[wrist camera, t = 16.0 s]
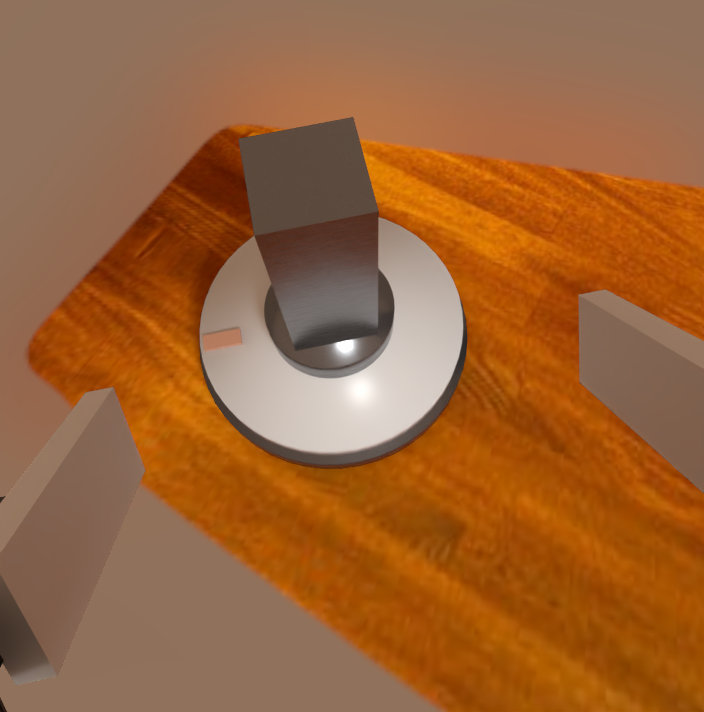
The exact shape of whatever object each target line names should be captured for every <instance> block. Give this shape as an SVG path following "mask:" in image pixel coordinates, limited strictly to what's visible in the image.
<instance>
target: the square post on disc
mask: <svg viewBox="0 0 704 712" xmlns="http://www.w3.org/2000/svg"><path fill="white" fill-rule="evenodd" d="M239 145H240V151H241V157H242V164H243V170H244V176H245V182H246V188H247V194H248V200H249V206H250V213H251V219H252V225H253V231H254V236H255V239H256V242H257V245H258V248H259V250H260V253H261V256H262V259H263V262H264V264H265V267H266V270H267V273H268V276H269V278H270V281H271V285H270V287H269V289H268V292H267V295H266V299H265V304H264V317H265V322H266V327H267V329H268V332H269V334H270V336H271V339H272V341H273V343H274V345H275V347H276V349H277V351H278V353H279V354H280V355H281V356H282V358H283V359H284V360H285V361H286V362H287V363H288V364H289V365H291V366H292V367H293V368H295V369H296V370H298V371H300V372H302V373H305V374H307V375H310V376H314V377H318V378H341V377H346V376H350V375H353V374H355V373H358V372H360V371H362V370H363V369H365V368H367V367H368V366H370V365H371V364H372V363H374V362H375V361H376V360H377V359H378V358H379V357H380V355H381V354H382V353H383V352H384V350H385V348H386V347H387V345H388V343H389V341H390V338H391V335H392V331H393V324H394V310H395V306H394V296H393V292H392V289H391V286H390V284H389V282H388V280H387V278H386V277H385V276H384V274H383V273H382V272H381V271H380V270H379V268H378V218H379V211H378V208H377V204H376V200H375V196H374V193H373V189H372V185H371V182H370V178H369V174H368V170H367V167H366V163H365V159H364V155H363V152H362V148H361V144H360V141H359V137H358V133H357V130H356V126H355V122H354V118H353V117H351V118H346V119H341V120H335V121H330V122H325V123H320V124H314V125H309V126H304V127H298V128H293V129H288V130H282V131H277V132H272V133H267V134H261V135H256V136H251V137H245V138H240V139H239Z"/></svg>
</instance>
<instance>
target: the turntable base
mask: <svg viewBox="0 0 704 712" xmlns="http://www.w3.org/2000/svg"><path fill="white" fill-rule="evenodd" d="M459 299H460V298H459ZM460 303H461V300H460ZM461 307H462V316H463V337H462V345H461V350H460V354H459V358H458V361H457V364H456V366H455V369H454V372H453V375H452V377H451V380H450V382H449V384H448V386H447V388H446V390H445V391H444V393H443V395H442V397H441V398H440V399H439V401H438V402H437V403H436V405H435V406H434V407H433V409H432V410H431V411H430V412H429V413H428V414H427V415H426V416H425V417H424V418H423V419H422V420H421V421H420V422H419V423H417V424H416V425H415V426H414V427H412V428H411V429H410V430H408V431H407V432H406V433H404V434H402V435H401V436H399V437H397V438H395V439H394V440H392V441H390V442H388V443H385V444H383V445H381V446H378V447H376V448H373V449H369V450H365V451H362V452H358V453H352V454H345V455H314V454H305V453H300V452H297V451H293V450H289V449H286V448H283V447H281V446H278V445H276V444H273V443H271V442H269V441H267V440H266V439H264V438H262V437H260V436H259V435H257V434H255V433H254V432H253V431H251V430H250V429H249V428H248V427H246V426H245V425H244V424H243V423H242V422H241V421H240V420H239V419H238V418H237V417H236V416H235V415H234V414H233V413H232V412H231V411H230V410H229V409H228V407H227V406H226V405H225V404H224V403H223V401H222V400H221V398H220V397H219V395H218V394H217V393H216V391H215V389H214V387H213V385H212V383H211V381H210V379H209V378H208V375H207V372H206V369H205V366H204V363H203V359H202V354H201V348H200V358H201V364H202V370H203V374H204V377H205V380H206V383H207V386H208V389H209V391H210V393H211V395H212V397H213V399H214V401H215V403H216V404H217V406H218V407H219V409H220V410H221V412H222V413H223V414H224V416H225V417H226V418H227V419H228V420H229V422H230V423H231V424H232V425H233V426H234V427H235V428H236V429H237V430H238V431H239V432H240V433H241V434H242V435H243V436H244V437H245V438H246V439H248V440H249V441H250V442H251V443H253V444H254V445H255V446H257V447H258V448H260V449H262V450H263V451H265V452H267V453H269V454H270V455H272V456H275V457H277V458H280V459H282V460H284V461H287V462H290V463H294V464H298V465H301V466H306V467H314V468H322V469H342V468H349V467H356V466H361V465H365V464H369V463H372V462H376V461H379V460H381V459H383V458H386V457H388V456H391V455H393V454H395V453H397V452H398V451H400V450H402V449H403V448H405V447H407V446H409V445H410V444H411V443H413V442H414V441H415V440H416V439H418V438H419V437H420V436H422V435H423V434H424V433H425V432H426V431H427V430H428V429H429V428H430V427H431V426H432V425H433V424H434V423H435V422H436V420H437V419H438V418H439V416H440V415H441V414H442V412H443V411H444V409H445V408H446V407H447V405H448V403H449V401H450V399H451V397H452V395H453V393H454V391H455V389H456V386H457V384H458V381H459V378H460V376H461V373H462V370H463V366H464V361H465V357H466V349H467V327H466V319H465V314H464V310H463V306H462V303H461Z"/></svg>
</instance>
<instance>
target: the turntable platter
mask: <svg viewBox="0 0 704 712" xmlns="http://www.w3.org/2000/svg"><path fill="white" fill-rule="evenodd" d="M378 268H379V270H380V271H381V272H382V273H383V274H384V276H385V277H386V278H387V280H388V282H389V284H390V286H391V289H392V292H393V296H394V306H395V310H394V324H393V331H392V335H391V338H390V341H389V343H388V345H387V347H386V348H385V350H384V352H383V353H382V354H381V355H380V357H379V358H378V359H377V360H376V361H375V362H374V363H372V364H371V365H370V366H368V367H367V368H365V369H363V370H362V371H360V372H358V373H355V374H353V375H350V376H346V377H341V378H318V377H314V376H310V375H307V374H305V373H302V372H300V371H298V370H296V369H295V368H293V367H292V366H291V365H289V364H288V363H287V362H286V361H285V360H284V359H283V358H282V356H281V355H280V354H279V353H278V351H277V349H276V347H275V345H274V343H273V341H272V339H271V336H270V334H269V332H268V329H267V327H266V322H265V317H264V304H265V299H266V295H267V292H268V289H269V287H270V285H271V281H270V278H269V276H268V273H267V270H266V267H265V264H264V262H263V259H262V256H261V253H260V250H259V248H258V245H257V242H256V239H255V236H253V237H252V238H250V239H249V240H248V241H247V242H245V243H244V244H243V245H242V246H241V247H239V248H238V249H237V250H236V251H235V252H234V254H233V255H232V256H231V257H230V258H229V259H228V260H227V261H226V263H225V264H224V265H223V267H222V268H221V269H220V271H219V272H218V274H217V276H216V277H215V279H214V281H213V283H212V284H211V287H210V289H209V292H208V294H207V296H206V299H205V302H204V306H203V310H202V314H201V322H200V348H201V354H202V359H203V363H204V366H205V369H206V372H207V375H208V378H209V379H210V381H211V383H212V385H213V387H214V389H215V391H216V393H217V394H218V395H219V397H220V398H221V400H222V401H223V403H224V404H225V405H226V406H227V407H228V409H229V410H230V411H231V412H232V413H233V414H234V415H235V416H236V417H237V418H238V419H239V420H240V421H241V422H242V423H243V424H244V425H245V426H246V427H248V428H249V429H250V430H251V431H253V432H254V433H255V434H257V435H259V436H260V437H262V438H264V439H266V440H267V441H269V442H271V443H273V444H276V445H278V446H281V447H283V448H286V449H289V450H293V451H297V452H300V453H305V454H314V455H345V454H352V453H358V452H362V451H365V450H369V449H373V448H376V447H378V446H381V445H383V444H385V443H388V442H390V441H392V440H394V439H395V438H397V437H399V436H401V435H402V434H404V433H406V432H407V431H408V430H410V429H411V428H412V427H414V426H415V425H416V424H417V423H419V422H420V421H421V420H422V419H423V418H424V417H425V416H426V415H427V414H428V413H429V412H430V411H431V410H432V409H433V407H434V406H435V405H436V403H437V402H438V401H439V399H440V398H441V397H442V395H443V393H444V391H445V390H446V388H447V386H448V384H449V382H450V380H451V377H452V375H453V372H454V369H455V366H456V364H457V361H458V358H459V354H460V350H461V345H462V337H463V316H462V307H461V303H460V299H459V294H458V292H457V289H456V287H455V284H454V281H453V279H452V277H451V276H450V274H449V272H448V270H447V268H446V267H445V265H444V264H443V263H442V261H441V260H440V259H439V257H438V256H437V255H436V254H435V253H434V252H433V251H432V250H431V249H430V247H429V246H428V245H427V244H426V243H424V242H423V241H422V240H421V239H419V238H418V237H417V236H415V235H414V234H413V233H411V232H409V231H408V230H406V229H404V228H403V227H401V226H399V225H397V224H395V223H393V222H390V221H388V220H386V219H383V218H380V217H379V218H378Z"/></svg>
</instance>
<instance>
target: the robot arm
mask: <svg viewBox="0 0 704 712" xmlns="http://www.w3.org/2000/svg"><path fill="white" fill-rule="evenodd" d="M579 371H580V383H581V384H582V385H583V386H585V387H586V388H587V389H588V390H589V391H590V392H591V393H592V394H593V395H595V396H596V397H597V398H598V399H599V400H600V401H601V402H602V403H604V404H605V405H606V406H607V407H608V408H609V409H610V410H611V411H612V412H614V413H615V414H616V415H617V416H618V417H619V418H620V419H621V420H623V421H624V422H625V423H626V424H627V425H628V426H629V427H630V428H631V429H633V430H634V431H635V432H636V433H637V434H638V435H639V436H640V437H642V438H643V439H644V440H645V441H646V442H647V443H648V444H649V445H650V446H652V447H653V448H654V449H655V450H656V451H657V452H658V453H659V454H661V455H662V456H663V457H664V458H665V459H666V460H667V461H668V462H669V463H671V464H672V465H673V466H674V467H675V468H676V469H677V470H678V471H680V472H681V473H682V474H683V475H684V476H685V477H686V478H687V479H689V480H690V481H691V482H692V483H693V484H694V485H695V486H696V487H697V488H699V489H700V490H701V491H702V492H703V493H704V341H702V340H700V339H698V338H696V337H695V336H693V335H691V334H689V333H687V332H685V331H683V330H681V329H679V328H677V327H676V326H674V325H672V324H670V323H668V322H666V321H664V320H662V319H660V318H658V317H657V316H655V315H653V314H651V313H649V312H647V311H645V310H643V309H641V308H639V307H638V306H636V305H634V304H632V303H630V302H628V301H626V300H624V299H622V298H620V297H619V296H617V295H615V294H613V293H611V292H609V291H607V290H601V291H596V292H591V293H586V294H580V295H579ZM144 472H145V468H144V466H143V463H142V460H141V458H140V455H139V453H138V450H137V447H136V445H135V442H134V440H133V437H132V434H131V432H130V429H129V427H128V424H127V421H126V419H125V416H124V414H123V411H122V408H121V406H120V403H119V400H118V398H117V395H116V393H115V390H114V387H111V388H106V389H101V390H96V391H91V392H86V393H85V394H84V395H83V397H82V398H81V399H80V400H79V402H78V403H77V404H76V406H75V407H74V408H73V410H72V411H71V412H70V413H69V415H68V416H67V417H66V419H65V420H64V421H63V423H62V424H61V425H60V427H59V428H58V429H57V430H56V432H55V433H54V434H53V436H52V437H51V438H50V439H49V441H48V442H47V443H46V445H45V446H44V447H43V449H42V450H41V451H40V453H39V454H38V455H37V456H36V458H35V459H34V460H33V462H32V463H31V464H30V465H29V467H28V468H27V469H26V471H25V472H24V473H23V475H22V476H21V477H20V479H19V480H18V481H17V482H16V484H15V485H14V486H13V488H12V489H11V490H10V491H9V493H8V494H7V495H6V496H5V497H0V667H1V665H2V663H3V664H4V666H5V668H6V669H7V671H8V673H9V674H10V676H11V677H12V679H13V681H14V683H15V684H16V685H18V684H23V683H28V682H33V681H38V680H43V679H47V678H52V677H57V676H58V674H59V672H60V669H61V667H62V665H63V662H64V660H65V658H66V655H67V653H68V651H69V648H70V646H71V644H72V641H73V639H74V637H75V634H76V632H77V630H78V627H79V624H80V622H81V620H82V618H83V615H84V613H85V611H86V608H87V606H88V604H89V601H90V599H91V597H92V594H93V592H94V589H95V587H96V585H97V582H98V580H99V578H100V575H101V573H102V571H103V568H104V566H105V563H106V561H107V559H108V556H109V554H110V551H111V549H112V547H113V545H114V542H115V540H116V538H117V535H118V532H119V531H120V528H121V526H122V523H123V521H124V518H125V516H126V514H127V511H128V509H129V507H130V505H131V502H132V500H133V498H134V495H135V493H136V490H137V488H138V486H139V483H140V481H141V479H142V476H143V474H144ZM0 712H7V711H6V709H5V707H4V705H3V703H2V700H1V698H0Z"/></svg>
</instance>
